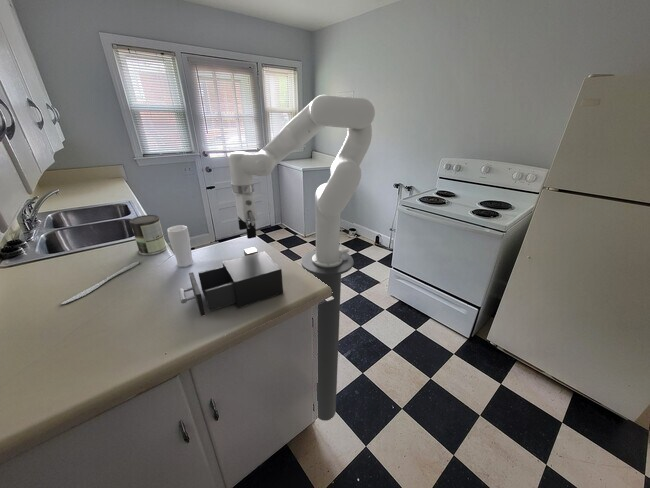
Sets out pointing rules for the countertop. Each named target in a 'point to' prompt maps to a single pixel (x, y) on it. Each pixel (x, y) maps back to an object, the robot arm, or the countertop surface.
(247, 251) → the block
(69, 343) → the countertop surface
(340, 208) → the robot arm
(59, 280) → the countertop surface
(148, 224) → the coffee can
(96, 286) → the butter knife
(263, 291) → the cabinet
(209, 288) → the drawer
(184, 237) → the drinking glass
